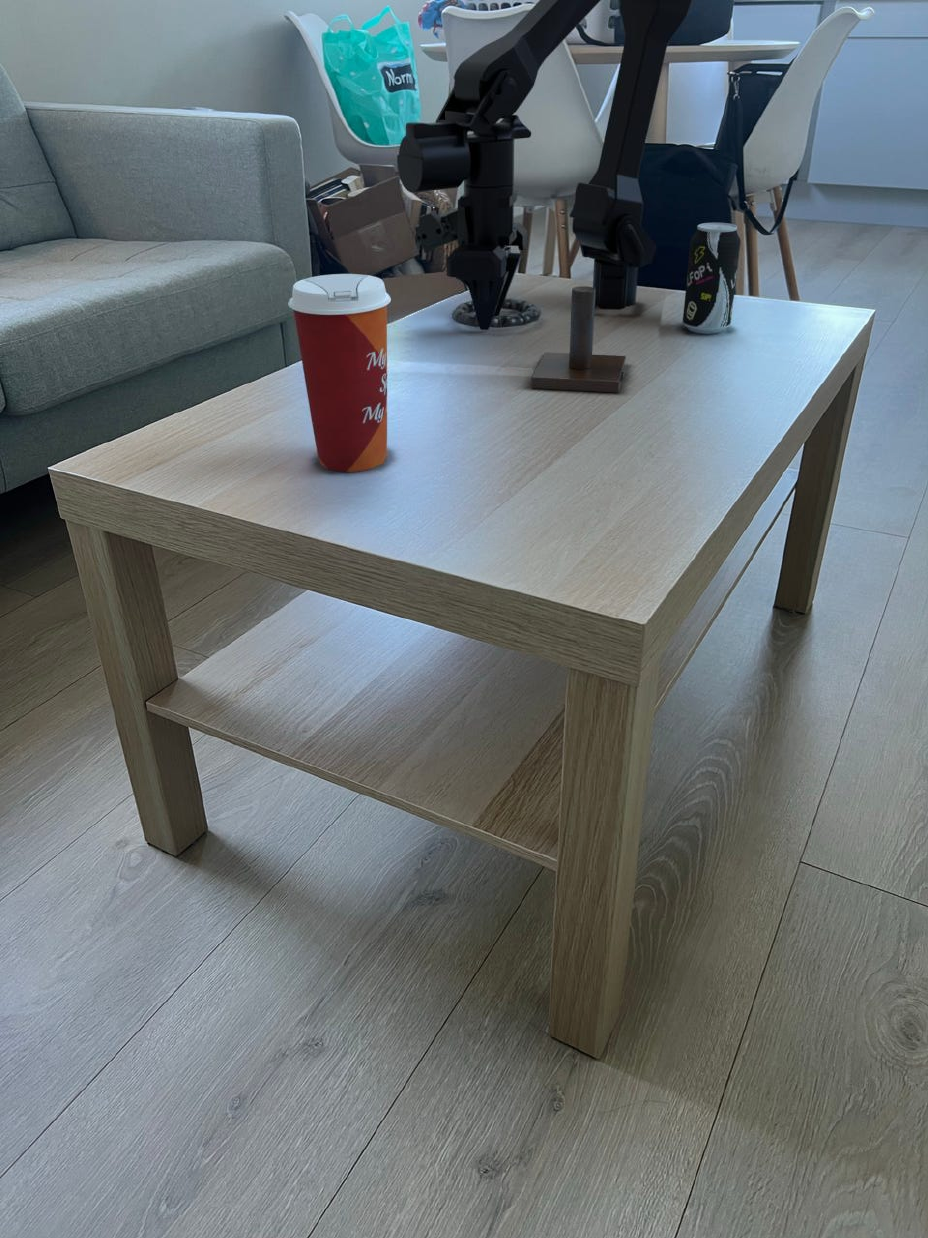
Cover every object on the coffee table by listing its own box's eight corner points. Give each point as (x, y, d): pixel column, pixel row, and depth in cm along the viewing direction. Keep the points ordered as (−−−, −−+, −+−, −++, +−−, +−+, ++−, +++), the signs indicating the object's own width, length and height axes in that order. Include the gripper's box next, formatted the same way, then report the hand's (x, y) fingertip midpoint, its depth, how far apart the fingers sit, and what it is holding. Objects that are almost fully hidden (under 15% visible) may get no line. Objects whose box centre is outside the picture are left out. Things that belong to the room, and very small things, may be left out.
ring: (463, 310, 128) (463, 295, 126) (545, 313, 125) (546, 297, 124) (444, 332, 118) (443, 316, 117) (532, 336, 116) (532, 320, 115)
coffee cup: (406, 472, 82) (397, 291, 74) (309, 481, 80) (289, 298, 73) (392, 437, 89) (382, 268, 81) (302, 445, 87) (283, 274, 80)
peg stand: (544, 362, 107) (546, 277, 103) (625, 366, 106) (631, 280, 101) (531, 388, 100) (533, 297, 95) (618, 392, 98) (624, 301, 93)
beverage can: (730, 336, 115) (743, 230, 108) (681, 334, 116) (692, 229, 110) (729, 324, 120) (742, 221, 113) (682, 322, 121) (692, 220, 114)
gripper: (439, 172, 119) (443, 301, 127) (398, 195, 103) (405, 341, 111) (528, 173, 116) (526, 304, 125) (500, 197, 101) (500, 345, 109)
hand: (489, 322), depth 118 cm, fingers open, 6 cm apart
